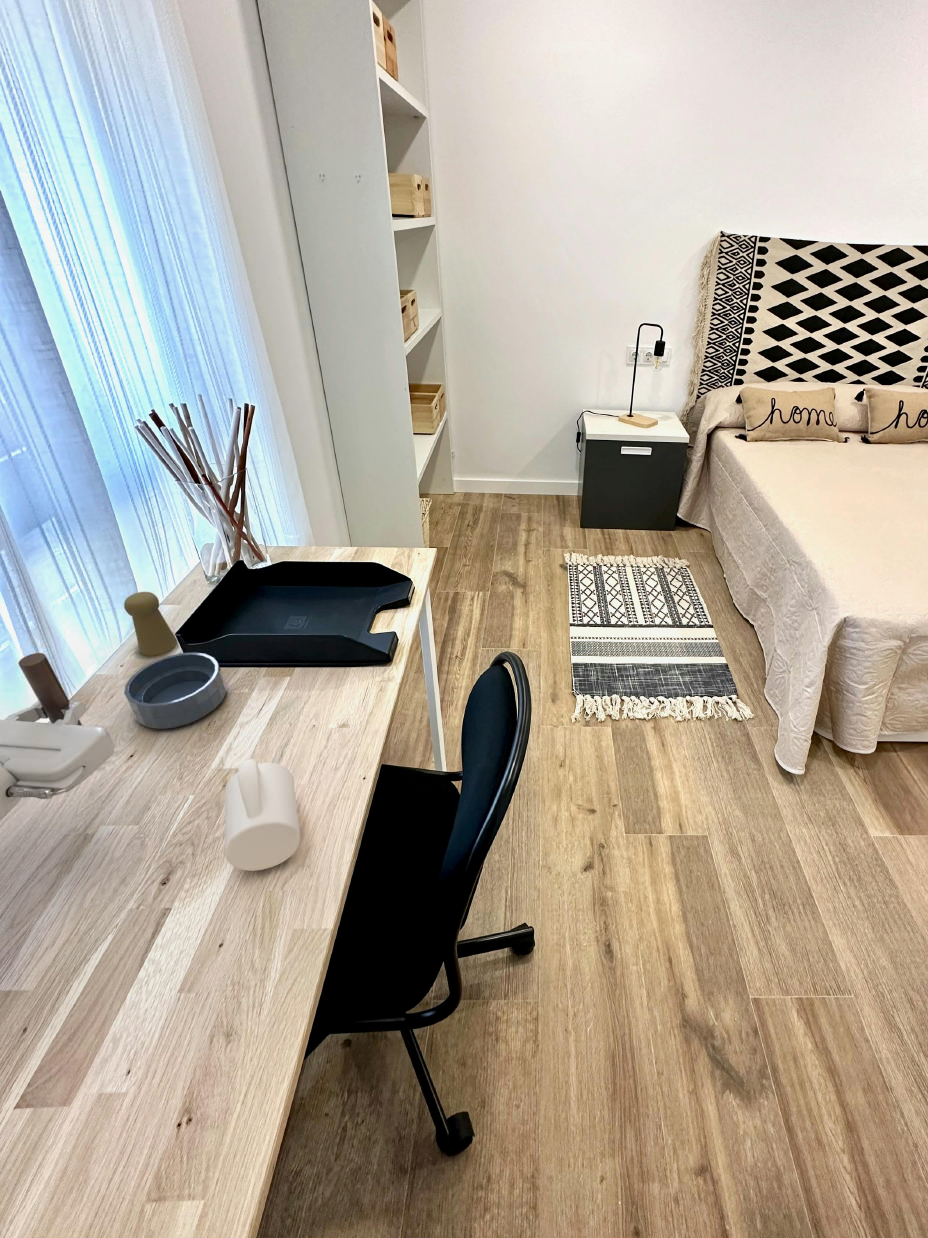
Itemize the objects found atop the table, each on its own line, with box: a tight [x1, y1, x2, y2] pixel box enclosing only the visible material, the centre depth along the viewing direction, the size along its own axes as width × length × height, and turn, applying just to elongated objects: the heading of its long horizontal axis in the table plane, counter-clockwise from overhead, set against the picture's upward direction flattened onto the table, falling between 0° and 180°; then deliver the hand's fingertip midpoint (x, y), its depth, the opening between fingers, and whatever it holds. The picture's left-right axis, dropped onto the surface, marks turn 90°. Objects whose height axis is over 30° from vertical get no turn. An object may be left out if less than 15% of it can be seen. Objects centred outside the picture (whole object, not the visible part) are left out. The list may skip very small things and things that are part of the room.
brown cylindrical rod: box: [17, 652, 83, 726], centre depth 77 cm, size 3×3×18 cm
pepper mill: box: [123, 591, 178, 657], centre depth 110 cm, size 6×6×11 cm
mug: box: [224, 758, 301, 872], centre depth 77 cm, size 8×10×12 cm
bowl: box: [123, 651, 227, 730], centre depth 99 cm, size 13×13×6 cm
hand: (64, 704), depth 77 cm, fingers closed on brown cylindrical rod, 2 cm apart
